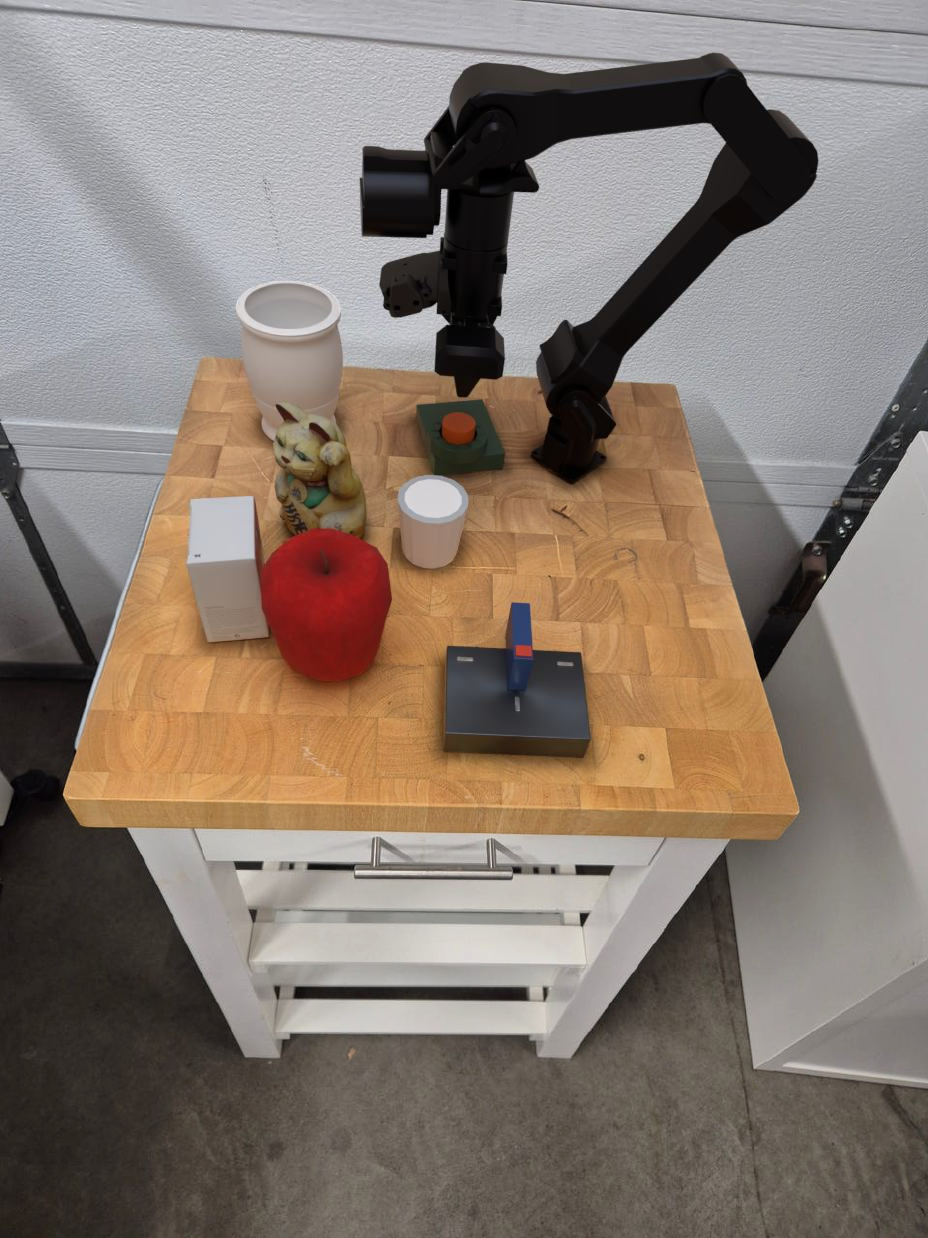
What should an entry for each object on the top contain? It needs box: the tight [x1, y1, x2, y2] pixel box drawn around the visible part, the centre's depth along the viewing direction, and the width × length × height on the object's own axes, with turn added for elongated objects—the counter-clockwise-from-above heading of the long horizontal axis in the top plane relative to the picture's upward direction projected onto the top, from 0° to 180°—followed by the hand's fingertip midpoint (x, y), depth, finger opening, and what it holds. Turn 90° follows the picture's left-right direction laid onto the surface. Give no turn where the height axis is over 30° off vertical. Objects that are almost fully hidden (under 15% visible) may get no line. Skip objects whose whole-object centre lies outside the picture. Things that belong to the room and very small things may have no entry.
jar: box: [235, 280, 344, 442], centre depth 88 cm, size 11×10×15 cm
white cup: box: [397, 474, 469, 570], centre depth 80 cm, size 7×7×7 cm
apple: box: [260, 528, 393, 682], centre depth 68 cm, size 10×10×14 cm
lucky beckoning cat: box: [272, 402, 367, 539], centre depth 78 cm, size 10×8×15 cm
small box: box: [185, 495, 270, 643], centre depth 72 cm, size 8×6×10 cm
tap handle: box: [504, 601, 534, 690], centre depth 69 cm, size 6×2×5 cm, turn 0°
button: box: [442, 412, 476, 445], centre depth 89 cm, size 4×4×2 cm
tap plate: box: [442, 645, 592, 758], centre depth 72 cm, size 12×13×3 cm
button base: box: [415, 398, 506, 476], centre depth 92 cm, size 11×8×4 cm
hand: (462, 385), depth 84 cm, fingers open, 3 cm apart
